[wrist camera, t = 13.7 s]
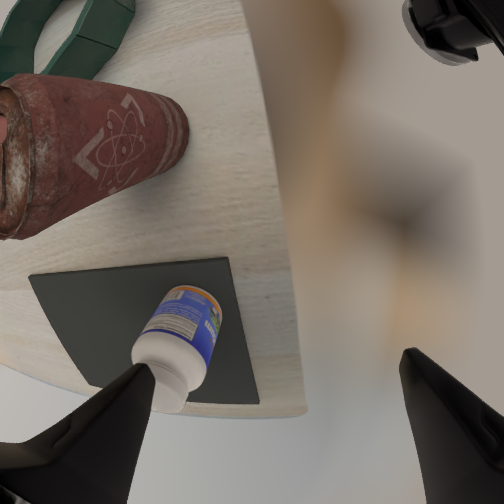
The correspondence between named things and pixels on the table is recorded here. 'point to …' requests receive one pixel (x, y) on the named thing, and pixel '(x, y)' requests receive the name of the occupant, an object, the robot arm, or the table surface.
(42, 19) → the pot
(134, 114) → the can
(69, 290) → the mat
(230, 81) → the table surface
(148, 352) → the pill bottle
